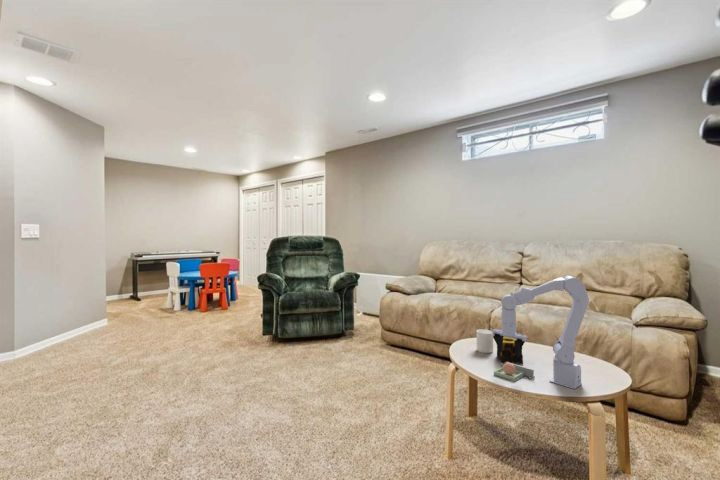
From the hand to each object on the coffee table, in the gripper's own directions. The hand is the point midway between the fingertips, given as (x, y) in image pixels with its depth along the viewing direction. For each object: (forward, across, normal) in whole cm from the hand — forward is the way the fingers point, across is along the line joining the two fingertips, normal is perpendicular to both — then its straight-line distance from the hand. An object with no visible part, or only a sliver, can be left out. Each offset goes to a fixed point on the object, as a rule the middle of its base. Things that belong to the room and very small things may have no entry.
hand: (508, 353), depth 147 cm
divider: (+9, -2, -5) cm, 11 cm away
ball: (+6, 0, 0) cm, 6 cm away
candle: (+10, +9, -18) cm, 23 cm away
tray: (+9, 0, 0) cm, 9 cm away
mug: (+10, +24, -23) cm, 35 cm away
